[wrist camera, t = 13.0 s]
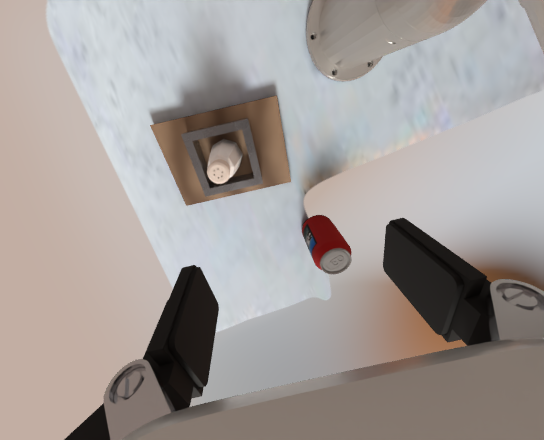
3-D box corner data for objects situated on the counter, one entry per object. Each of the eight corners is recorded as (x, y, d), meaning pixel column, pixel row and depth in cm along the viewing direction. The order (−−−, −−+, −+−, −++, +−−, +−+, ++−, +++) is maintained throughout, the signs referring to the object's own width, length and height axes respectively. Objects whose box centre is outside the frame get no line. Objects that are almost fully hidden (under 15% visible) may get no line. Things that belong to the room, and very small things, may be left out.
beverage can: (294, 226, 45) (308, 262, 34) (320, 207, 43) (343, 238, 33) (312, 244, 48) (329, 283, 37) (336, 227, 46) (362, 262, 36)
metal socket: (247, 117, 33) (247, 118, 30) (262, 177, 38) (263, 183, 34) (187, 131, 33) (180, 134, 30) (208, 189, 38) (205, 196, 35)
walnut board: (275, 95, 33) (276, 95, 32) (289, 179, 40) (290, 181, 38) (154, 124, 33) (150, 125, 32) (188, 202, 40) (186, 205, 39)
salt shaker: (204, 158, 35) (187, 177, 25) (222, 131, 33) (211, 140, 24) (231, 177, 37) (224, 201, 27) (249, 152, 35) (249, 169, 26)
